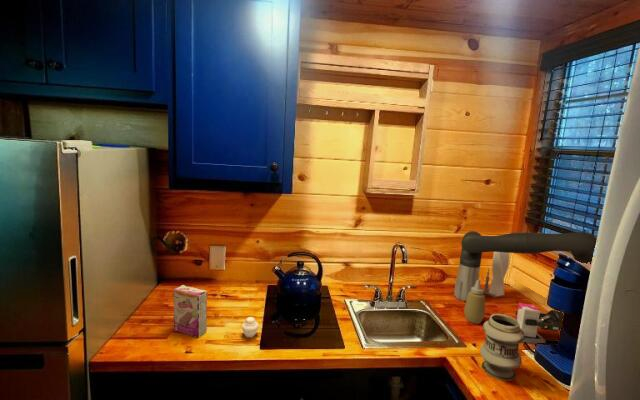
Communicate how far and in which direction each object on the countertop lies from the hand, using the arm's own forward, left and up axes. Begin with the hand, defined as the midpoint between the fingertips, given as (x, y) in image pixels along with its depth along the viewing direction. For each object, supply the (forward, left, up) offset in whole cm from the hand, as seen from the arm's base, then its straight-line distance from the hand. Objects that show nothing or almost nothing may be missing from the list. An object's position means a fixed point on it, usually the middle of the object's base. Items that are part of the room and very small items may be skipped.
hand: (521, 317), depth 133 cm
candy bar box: (-126, -16, -8) cm, 127 cm away
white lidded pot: (-104, -15, -8) cm, 105 cm away
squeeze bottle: (-14, +10, -8) cm, 19 cm away
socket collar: (+2, 0, -8) cm, 8 cm away
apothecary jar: (-19, -24, -8) cm, 31 cm away
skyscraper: (+9, +41, -8) cm, 43 cm away
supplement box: (+2, 0, -7) cm, 7 cm away
